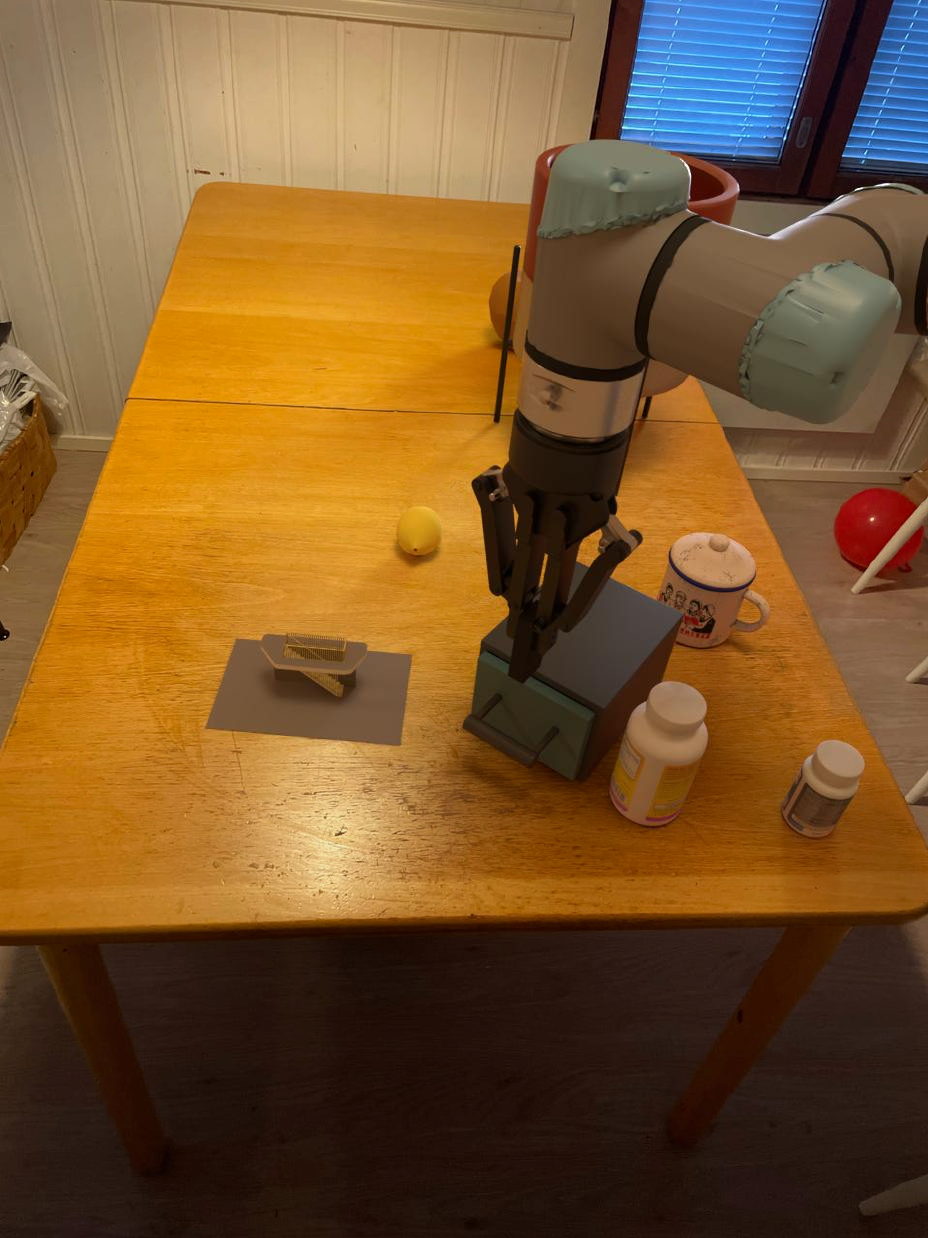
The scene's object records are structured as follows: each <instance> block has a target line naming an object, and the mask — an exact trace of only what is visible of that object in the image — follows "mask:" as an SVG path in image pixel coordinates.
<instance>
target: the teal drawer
mask: <svg viewBox="0 0 928 1238" xmlns="http://www.w3.org/2000/svg"><path fill="white" fill-rule="evenodd" d="M476 661H477V662H476V668H475V669H476V670H475V678H474V686H473V693H472V700H471V708H470V714H467V716H466V717H465V718H464V720H463V722H462V726H461V727H462V730H464V731H466V732H467V733H469V734H471V735H472V736H474V737H476V738H477V739H479V740H480V741H482V742H484V743H486V744H487V745H489V746H490V747H492V748H494V749H495V750H497V751H499V752H500V753H502V754H503V755H505V756H507V757H508V758H510V759H512V760H513V761H515V762H516V763H518V764H520V765H521V766H522V767H525V768H526V769H528V770H532V769H533V768H534V767H535V766H536V764H537V763H538V762H540V763H541V764H543V765H545V766H547V767H548V768H550V769H552V770H553V771H555V772H556V773H558V774H560V775H561V776H563V777H564V778H566V779H567V780H569V781H571V782H573V781H574V780H575V779H577V778H576V776H577V775H578V774H579V771H580V768H581V764H582V760H583V757H584V753H585V750H586V746H587V742H588V739H589V735H590V731H591V728H592V724H593V720H594V717H595V712H594V711H595V710H593V709H591V708H589V707H587V706H586V705H584V704H582V703H580V702H579V701H577V700H575V699H573V698H571V697H570V696H568V695H566V694H564V693H563V692H561V691H559V690H557V689H555V688H554V687H552V686H550V685H548V684H547V683H545V682H543V681H541V680H540V679H538V678H536V677H534V676H532V675H531V676H530V677H529V678H528V679H527V680H526V682H525V683H524V684H521V683H520V682H518V681H516V680H514V679H513V678H511V677H509V676H508V671H509V665H510V663H509V662H508V661H506V660H504V659H502V658H500V657H499V658H497V657H496V656H494V655H492V654H490V653H489V652H487V651H485V652H484V653H482V654H481V655H480V656H479V655H478V657H477V660H476Z"/></svg>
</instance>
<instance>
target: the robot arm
mask: <svg viewBox="0 0 928 1238" xmlns="http://www.w3.org/2000/svg"><path fill="white" fill-rule="evenodd" d="M573 144H574V145H571V146H569V147H567V148H566V149H565V150H563V151H562V152H561V153H560V154H559V155H558V156H557V158H556V159H555V161H554V163H553V165H552V168H551V172H550V178H549V183H548V188H547V193H546V198H545V203H544V208H543V213H542V218H541V223H540V225H539V226H538V228H537V233H536V235H537V237H538V239H537V249H536V259H535V270H534V280H533V289H532V297H531V305H530V313H529V321H528V329H527V330H526V338H525V343H524V348H523V355H522V362H520V371H519V380H518V385H517V392H516V406H517V407H516V408H515V410H514V413H513V417H512V424H511V432H510V438H509V446H508V452H507V453H508V454H507V456H508V460H507V461H506V463H505V464H504V466H503V467H502V468H501V466H499V465H497V464H493V465H491V466H490V467H488V468H487V469H485V470H484V471H483V472H482V473H480V474H479V475H478V476H476V477H474V478H473V479H472V480H471V483H470V485H471V489H472V491H473V493H474V496H475V499H476V501H477V503H478V505H479V508H480V516H481V526H482V534H483V535H482V536H483V542H484V543H483V544H484V555H485V562H486V563H485V564H486V571H487V572H486V573H487V581H488V582H487V583H488V590H489V591H490V593H491V594H492V595H493V596H495V597H502V598H503V599H504V600H505V601H506V602H507V608H508V614H507V616H508V620H507V621H508V622H507V627H506V634H507V637H509V638H511V639H513V640H514V642H513V647H512V653H511V659H510V665H509V671H508V676H509V677H511V678H513V679H514V680H516V681H518V682H520V683H521V684H524V683H525V682H526V680H527V679H528V678H529V677H530V676H531V675H532V674H533V673H534V672H535V671H536V670H537V669H538V668H539V667H540V666H541V662H542V657H543V656H544V655H545V654H546V653H547V652H548V651H549V650H550V649H551V648H552V647H553V646H554V644H555V643H556V640H557V635H558V631H559V629H560V630H561V631H563V632H565V633H569V632H570V631H571V630H572V629H573V628H574V627H575V626H576V625H577V624H578V623H579V622H580V621H581V620H582V619H583V618H584V617H585V616H586V615H587V614H588V612H589V610H590V609H591V607H592V606H593V604H594V602H595V601H596V599H597V598H598V596H599V594H600V593H601V591H602V589H603V588H604V586H605V585H606V583H607V581H608V580H609V578H610V577H611V578H612V575H613V573H614V572H615V570H616V569H617V568H618V565H619V564H621V563H622V562H624V561H625V560H626V559H627V558H628V557H629V556H630V555H631V554H632V553H633V552H635V550H636V549H637V548H638V547H639V546H640V545H642V543H643V541H644V538H643V537H644V536H643V535H642V532H640V531H639V530H637V529H629V530H627V528H626V527H625V526H624V524H623V523H622V522H621V521H620V519H619V518H618V517H617V513H618V501H617V498H616V497H617V496H615V487H616V484H617V481H618V478H619V475H620V471H621V466H622V462H623V458H624V454H625V450H626V446H627V442H628V438H629V427H628V426H629V425H630V424H631V423H632V421H633V418H634V414H635V410H636V405H637V401H638V397H639V392H640V388H641V383H642V379H643V375H644V370H645V366H646V363H647V359H648V358H650V359H652V360H655V361H659V362H662V363H664V364H666V365H668V366H671V367H673V368H675V369H677V370H679V371H682V372H684V373H686V374H688V375H689V376H691V377H692V378H695V379H698V380H700V381H702V382H705V383H707V384H709V385H711V386H713V387H715V388H719V389H720V390H722V391H725V392H727V393H729V394H732V395H734V396H735V397H738V398H740V399H742V400H745V401H747V402H748V403H749V404H751V405H752V406H754V407H756V408H758V409H760V410H766V411H768V412H777V413H780V414H783V415H786V416H788V417H793V418H794V419H798V420H801V421H802V422H806V423H809V424H811V425H827V424H831V423H833V422H835V421H838V420H839V419H841V418H843V416H845V415H846V414H847V413H848V412H849V411H850V410H851V409H852V408H853V406H854V405H855V404H856V402H857V400H858V399H859V396H860V394H862V393H863V392H864V391H865V390H866V389H867V387H868V386H869V383H870V382H871V380H872V379H873V377H874V375H875V374H876V371H877V370H878V368H879V366H880V364H881V363H882V360H883V358H884V356H885V354H886V352H887V350H888V348H889V346H890V344H891V341H892V339H893V336H894V334H895V335H909V336H920V337H921V336H922V337H928V193H925V191H923V190H922V189H918V188H916V187H915V186H912V185H909V184H905V183H898V182H897V183H896V182H892V183H889V182H887V183H881V184H876V185H873V186H864V187H860V188H856V189H855V190H852V191H851V192H849V193H847V194H843V195H840V196H839V197H838V198H836V199H834V200H833V201H832V202H830V203H829V204H828V205H827V206H826V207H823V208H822V209H820V210H818V211H816V212H814V213H812V214H811V215H809V216H807V217H805V218H803V219H801V220H798V221H797V222H795V223H794V224H790V225H789V226H787V227H785V228H783V229H781V230H779V231H777V232H775V233H773V234H771V235H769V236H763V235H761V234H757V233H753V232H749V231H746V230H742V229H739V228H736V227H732V226H730V227H729V226H726V225H722V224H719V223H716V222H715V221H714V220H710V219H707V218H705V217H703V216H701V215H699V214H696V213H693V212H690V211H689V210H688V209H687V208H688V206H689V204H688V201H689V199H690V196H689V190H690V182H691V174H690V171H689V168H688V166H687V164H686V163H685V162H684V161H683V160H682V159H681V158H679V157H676V156H673V155H670V153H669V152H668V151H669V150H667V149H663V148H660V147H657V146H653V145H650V144H646V143H641V142H636V141H630V140H621V139H620V140H619V139H590V140H584V141H581V142H577V143H573ZM666 150H667V151H666ZM514 508H515V509H514ZM515 511H516V514H517V519H516V522H515ZM599 530H600V531H601V537H600V539H599V541H598V547H597V552H598V553H599V555H598V556H596V558H595V559H594V560H593V561H592V562H591V564H590V565H589V566H588V567H589V569H588V571H587V572H586V574H585V576H584V577H583V579H582V581H581V582H580V584H579V586H578V588H577V589H576V591H575V593H574V594H573V596H572V598H571V600H570V601H569V603H568V605H567V601H568V597H569V592H570V588H571V583H572V578H573V574H574V569H575V565H576V561H578V560H577V559H578V555H579V552H580V551H579V550H580V546H581V544H582V543H583V541H584V539H586V538H587V537H589V536H591V535H592V534H594V533H596V532H597V531H599ZM545 556H547V557H546V563H545V568H544V573H543V567H544V562H545ZM542 573H543V578H542V583H540V582H541V577H542ZM540 584H541V585H542V588H541V590H539V591H538V589H539V587H540ZM540 592H541V594H540V599H539V600H536V601H534V602H533V599H534V598H535V597H536V596H537V595H538V594H539V593H540Z"/></svg>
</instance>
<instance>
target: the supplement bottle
mask: <svg viewBox="0 0 928 1238" xmlns="http://www.w3.org/2000/svg"><path fill="white" fill-rule="evenodd" d="M707 711H708V707H707V702H706V700H705V698H704V696H703V695H702V694H701V693H700V692H699V691H698V690H697V689H696V688H694V687H692V686H691V685H689V684H687V683H685V682H679V681H674V680H672V681H670V680H669V681H668V680H667V681H663V682H662V681H661V683H660V684H657V685H656V686H655V687H653V689H652V690H651V692H650V694H649V697H648V699H647V701H646V702H644V703H642V704H640V705H639V706H638V707H637V708H635V710H634V711H633V712H632V714H631V716H630V718H629V721H628V724H627V727H626V730H625V731H624V733H623V737H622V741H621V743H620V747H619V750H618V753H617V757H616V761H615V763H614V767H613V770H612V773H611V777H610V781H609V789H608V790H609V796H610V799H611V801H612V804H613V806H614V807H615V809H616V810H617V811H618V812H619V813H620V814H621V815H622V816H624V818H626V819H627V820H630V821H631V822H634V823H636V824H639V825H642V826H649V827H658V826H663V825H666V824H668V823H671V822H672V821H673V820H674V819H676V818H677V817H678V816H679V814H680V813H681V811H682V809H683V806H684V804H685V802H686V799H687V796H688V794H689V792H690V790H691V787H692V784H693V781H694V780H695V777H696V774H697V771H698V769H699V766H700V765H701V762H702V759H703V757H704V754H705V752H706V749H707V745H708V741H709V735H708V729H707V726H706V724H705V719H706V716H707Z"/></svg>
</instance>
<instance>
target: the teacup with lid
mask: <svg viewBox="0 0 928 1238" xmlns="http://www.w3.org/2000/svg"><path fill="white" fill-rule="evenodd" d="M667 556H668V562H667V565H666V569H665V572H664V574H663V578H662V582H661V585H660V587H659V591H658V595H657V597H656V600H657V601H659V602H661V603H664V604H666V605H668V606H670V607H672V608H674V609H676V610H678V611H680V612H682V613H684V617H683V620H682V622H681V625H680V628H679V631H678V634H677V637H676V640H675V642H677V643H680V644H682V645H683V646H684V645H685V646H689V647H694V648H710V647H715V646H718V645H720V644H722V643H723V642H725V641H726V640H727V639H729V638H730V635H731V633H732V631H733V629H734V630H736V631H738V632H742V633H754V632H757V631H759V630H760V629H762V628H763V627H764V626H765V625H766V623H767V622H768V621H769V619H770V616H771V607H770V605H769V603H768V601H767V600H766V599H765V598H764V597H763V596H762V595H761V594H759V593H757V592H755V591H753V590H752V589H750V585H752V583H754V581H755V579H756V577H757V565H756V561H755V559H754V556H753V555H752V554H751V553H750V552H749V550H748V549H746V547H744V545H742V544H741V543H739V542H737V541H735V540H734V539H731V538H729V537H728V536H726V534H722V533H712V532H693V533H688V534H685V535H683V536H681V537H679V538H678V539H676V541H675V542H674V543H673V544H672V545H671V546H670V548H669V551H668V555H667ZM744 601H749V602H750V603H752V604H754V605H755V606H756V607H757V608H758V611H759V613H760V618H759V620H758V621H755V622H751V623H750V622H746V621H742V620H740V619H738V615H739V613H740V610H741V609H742V606H743V603H744Z"/></svg>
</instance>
